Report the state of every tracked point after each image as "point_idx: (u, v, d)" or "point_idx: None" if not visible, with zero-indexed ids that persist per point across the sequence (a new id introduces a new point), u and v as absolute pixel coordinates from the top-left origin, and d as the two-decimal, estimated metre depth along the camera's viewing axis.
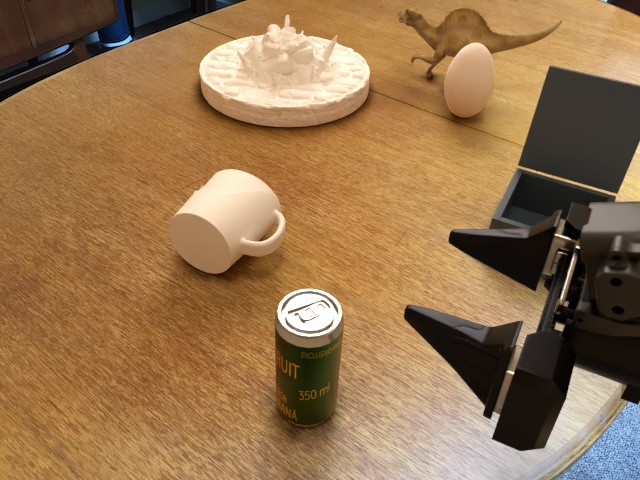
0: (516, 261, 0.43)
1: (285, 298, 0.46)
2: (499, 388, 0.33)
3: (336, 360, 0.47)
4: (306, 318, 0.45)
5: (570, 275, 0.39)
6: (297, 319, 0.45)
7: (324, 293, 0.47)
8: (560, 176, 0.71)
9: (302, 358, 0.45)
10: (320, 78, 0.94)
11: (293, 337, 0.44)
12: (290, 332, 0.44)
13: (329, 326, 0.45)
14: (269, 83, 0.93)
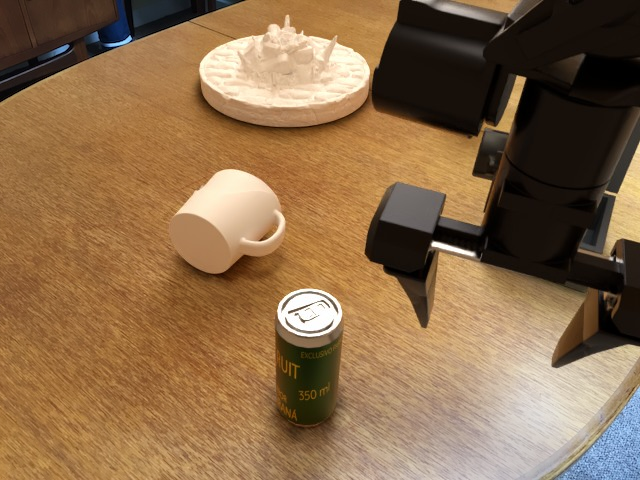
0: (583, 322, 0.38)
1: (285, 298, 0.46)
2: None
3: (336, 360, 0.47)
4: (306, 318, 0.45)
5: None
6: (297, 319, 0.45)
7: (324, 293, 0.47)
8: None
9: (302, 358, 0.45)
10: (320, 78, 0.94)
11: (293, 337, 0.44)
12: (290, 332, 0.44)
13: (329, 326, 0.45)
14: (269, 83, 0.92)
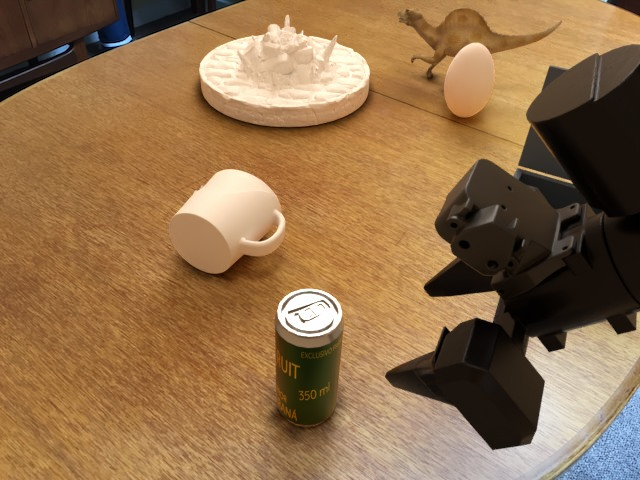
0: None
1: (285, 298, 0.46)
2: None
3: (336, 360, 0.47)
4: (306, 318, 0.45)
5: None
6: (297, 319, 0.45)
7: (324, 293, 0.47)
8: (560, 176, 0.71)
9: (302, 358, 0.45)
10: (320, 78, 0.94)
11: (293, 337, 0.44)
12: (290, 332, 0.44)
13: (329, 326, 0.45)
14: (269, 83, 0.92)
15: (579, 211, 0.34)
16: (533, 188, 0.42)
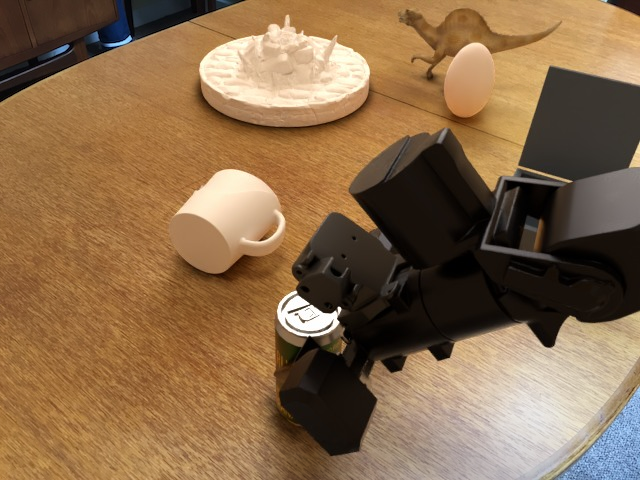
0: None
1: (285, 298, 0.46)
2: None
3: None
4: (306, 318, 0.45)
5: None
6: (297, 319, 0.45)
7: None
8: (560, 176, 0.71)
9: None
10: (320, 78, 0.94)
11: (293, 337, 0.44)
12: (290, 332, 0.44)
13: (329, 326, 0.45)
14: (269, 83, 0.92)
15: None
16: None
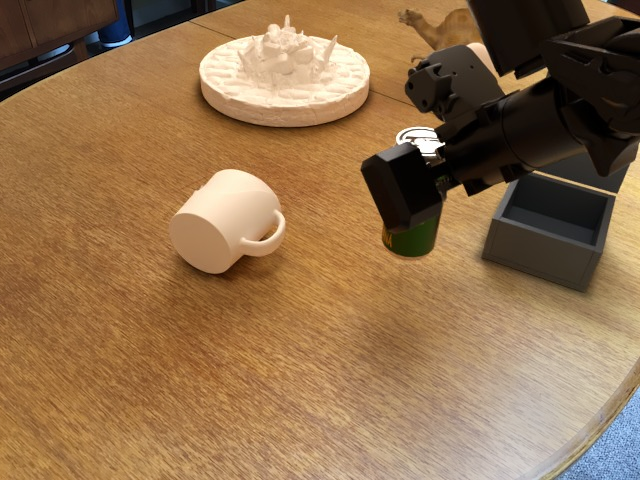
0: None
1: (410, 128, 0.54)
2: None
3: None
4: (418, 144, 0.52)
5: None
6: None
7: None
8: (560, 176, 0.71)
9: None
10: (320, 78, 0.94)
11: None
12: None
13: None
14: (269, 83, 0.92)
15: (514, 93, 0.45)
16: None
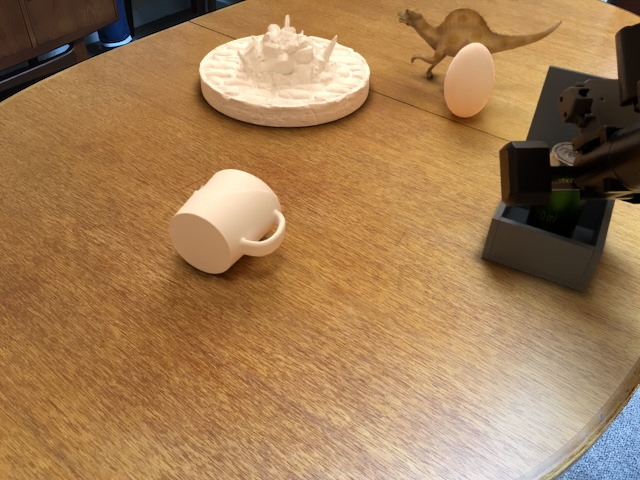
0: None
1: (571, 143, 0.65)
2: None
3: (570, 199, 0.63)
4: (569, 155, 0.63)
5: None
6: (565, 154, 0.63)
7: None
8: None
9: None
10: (320, 78, 0.94)
11: (551, 157, 0.63)
12: (552, 152, 0.63)
13: None
14: (269, 83, 0.92)
15: None
16: None
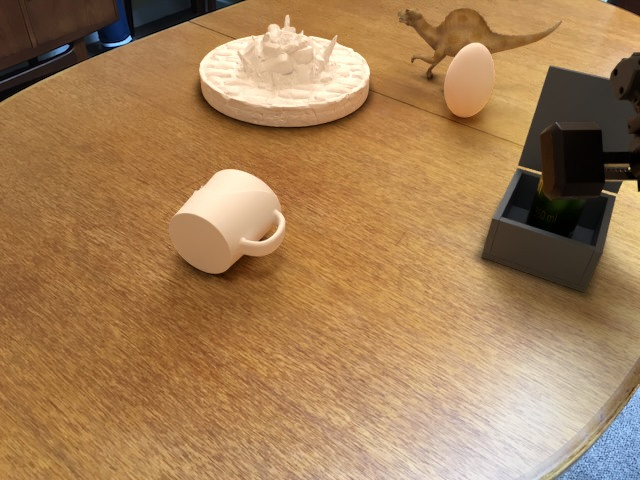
0: None
1: None
2: None
3: None
4: None
5: None
6: None
7: None
8: None
9: None
10: (320, 78, 0.94)
11: None
12: None
13: None
14: (269, 83, 0.92)
15: None
16: None
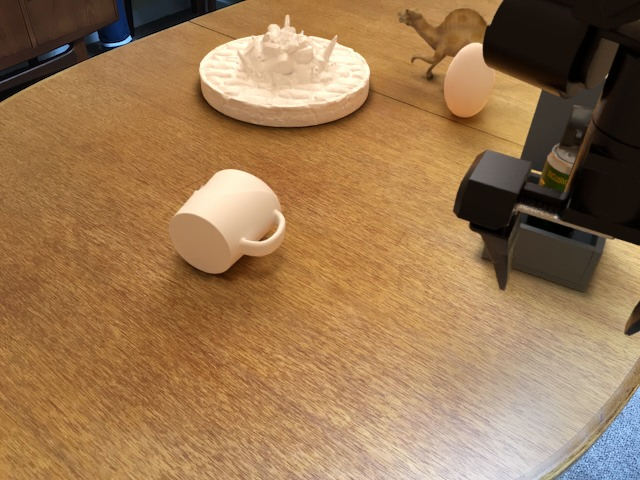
0: None
1: None
2: None
3: None
4: (569, 155, 0.63)
5: None
6: (565, 154, 0.63)
7: None
8: None
9: (548, 176, 0.64)
10: (320, 78, 0.94)
11: (551, 157, 0.63)
12: (552, 152, 0.63)
13: None
14: (269, 83, 0.92)
15: None
16: None
